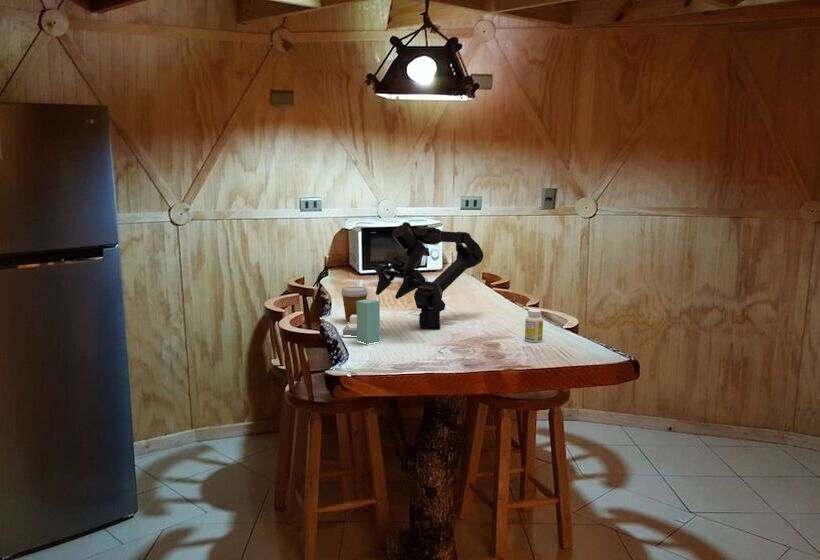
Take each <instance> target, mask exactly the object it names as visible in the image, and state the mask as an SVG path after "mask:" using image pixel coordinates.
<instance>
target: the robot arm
mask: <svg viewBox="0 0 820 560" xmlns="http://www.w3.org/2000/svg"><path fill="white" fill-rule="evenodd" d="M391 236H392V237H393V239H394V240H395V241H396V243H397V244H398V245H399V246H400V248H401V249H404V250H405V251H398V252H393V251H386V252H385V254H384V257H383V260H382V261H383V262H385V263H388V264H390V267H389V265H387V264H377V265H376V267H375V268H374V271H375V272H376V274H377V276H378V280H377V281H378V282H377V285H376V289H375V290H376V291H375V295H376V296H379V295H380V294H382V293H383V292H384V291H385V290H386V289H387V288H388V287H389V286H390V285H391V284H392V281H394V280H395V278H399V279H402V283H401V284H400V287H399V288H398V289H397V292H396V293H395V296H394V298H395V299H396V300H399V299H400V298H402V297H403V296H405V295H407V294H409V293H411V292H413V291H414V295H413V297H414V298H413V299H414V302H415V306H416V308H417V310H420V313H419V315H418V317H419V318H418V319H419V321H418V322H419V325H418V326H419V327H420V328H421V330H422V329H423V330H440V329H441V312H442V311H445V310H446V309H445V308H446V303H445V301H444V300H443V292H445V291H446V290H447V289H448V288H449V287H450V286H451V285H452V284H453V283H454V282H456V280H457V279H458V278H459V277H460V276H461V275H462V274H463V273H464V272H465V271H466V270H467V269H468V270H469V269H471V268H474V267H476V266H477V265H479V264H481V263H482V262H483V259H484V252H483V250H482V248H481V247H480V244H478V243H477V242H476V241H475V240H474V239H473V237H472V236H471V234H470V233H468V232H466V231H448V230H447V231H443V230H441V229H439V228H437V227H433V226H422V225H421V226H417V227H416V228H415V229H414V228H413V227H412V225H411V224H410V222H407V221H404V222H403V223H402V224H400V225H398V226H396V228H394V229H393V230H392V232H391ZM440 243H455V250H456V257H455V260H454V261H453V262H452V263H451V264H450V265H449V266H448V267H447V268H446V269H444V271H443V272H441V274H440V275H438V276H437V277H436V278H435V279H434V280H433V281H427V280H426V278H425V276H424V275H423V274H422V272H421V271H420V269H419V268H420V266H419V263H420V262H421V260H422V259H423V257H430V255H431V254H430V253H431V252H430V250H429V249H430V248H429V247H426V246H425V245H429V246H430V245H431V246H432V245H438V244H440ZM391 268H392V269H393V270H392V269H391Z"/></svg>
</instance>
